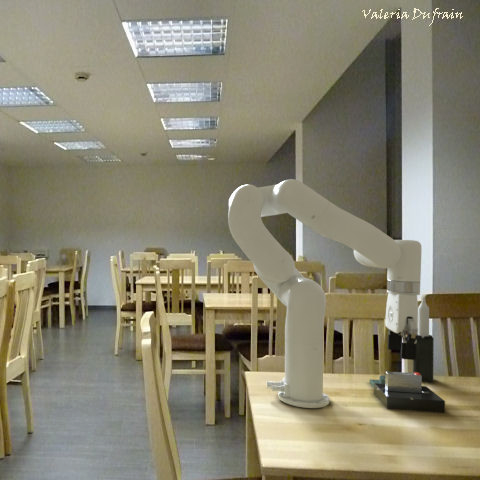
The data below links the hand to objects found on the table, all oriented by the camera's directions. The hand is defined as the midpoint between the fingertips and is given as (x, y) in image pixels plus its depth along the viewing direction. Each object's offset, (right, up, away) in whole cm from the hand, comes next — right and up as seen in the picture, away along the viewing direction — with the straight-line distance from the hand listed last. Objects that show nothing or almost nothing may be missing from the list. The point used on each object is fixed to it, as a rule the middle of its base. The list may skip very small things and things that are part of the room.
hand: (401, 354), depth 113 cm
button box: (+3, -13, +11) cm, 17 cm away
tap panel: (+1, -13, 0) cm, 13 cm away
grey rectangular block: (+1, -9, 0) cm, 9 cm away
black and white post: (+17, -13, +19) cm, 29 cm away
